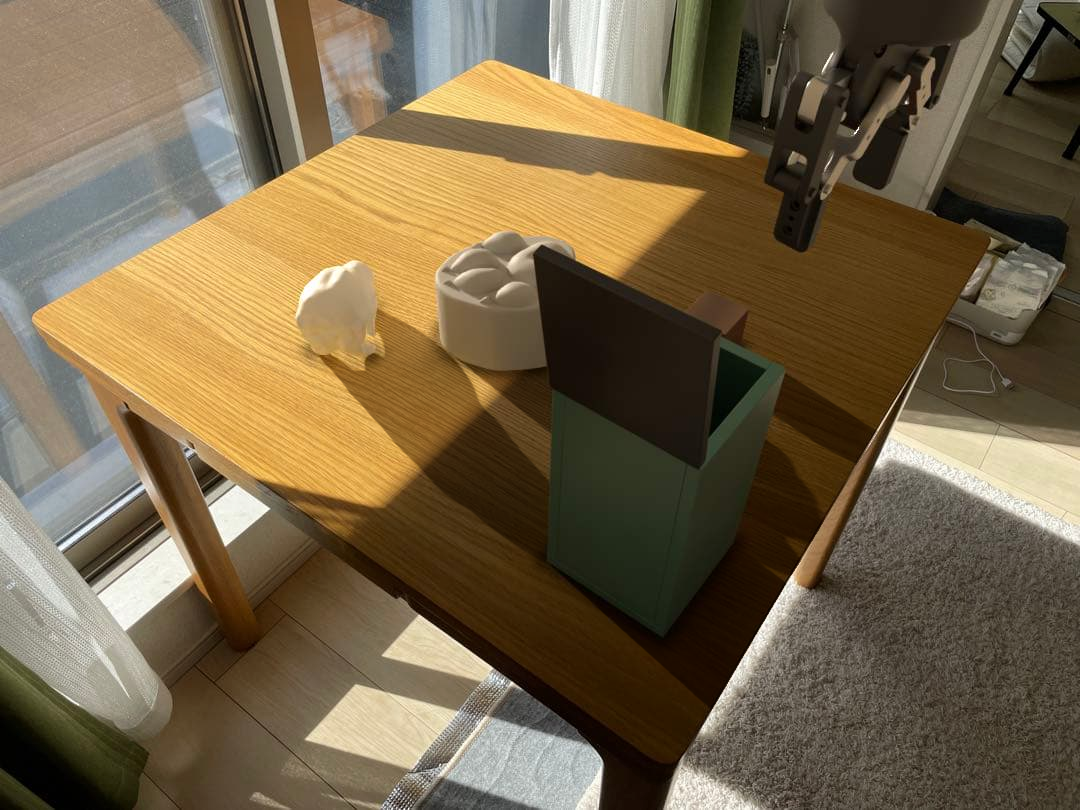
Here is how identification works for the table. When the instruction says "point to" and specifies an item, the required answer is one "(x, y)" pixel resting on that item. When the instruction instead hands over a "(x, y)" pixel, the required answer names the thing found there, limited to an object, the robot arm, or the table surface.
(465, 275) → the lumpy-topped squat cylinder
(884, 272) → the table surface
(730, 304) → the block
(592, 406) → the box lid
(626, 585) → the green box
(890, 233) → the table surface
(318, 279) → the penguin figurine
